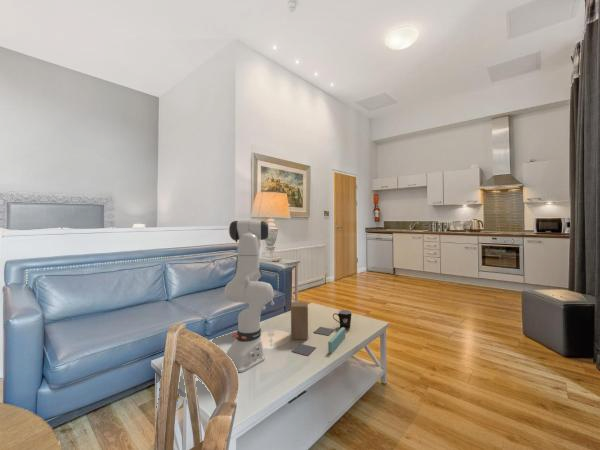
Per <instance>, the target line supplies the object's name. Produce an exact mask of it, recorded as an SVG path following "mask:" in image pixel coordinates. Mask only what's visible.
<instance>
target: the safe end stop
mask: <svg viewBox="0 0 600 450" xmlns="http://www.w3.org/2000/svg"><path fill="white" fill-rule="evenodd" d="M345 339H346V329H345V328H343V327H342V328H341V327H340V329H339V330H338V331H337V332H336V333H335V334H334V335H333V336H332V337H331V338H330V339H329V340H328V342H327V346H328V347H327V351H328V352H327V353H328V354H330V355H331V354H333V353H334V352H335V350H336V349H338V347H339V346H340V345H341V344H342V342H343V341H344V340H345ZM340 343H341V344H340Z"/></svg>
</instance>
